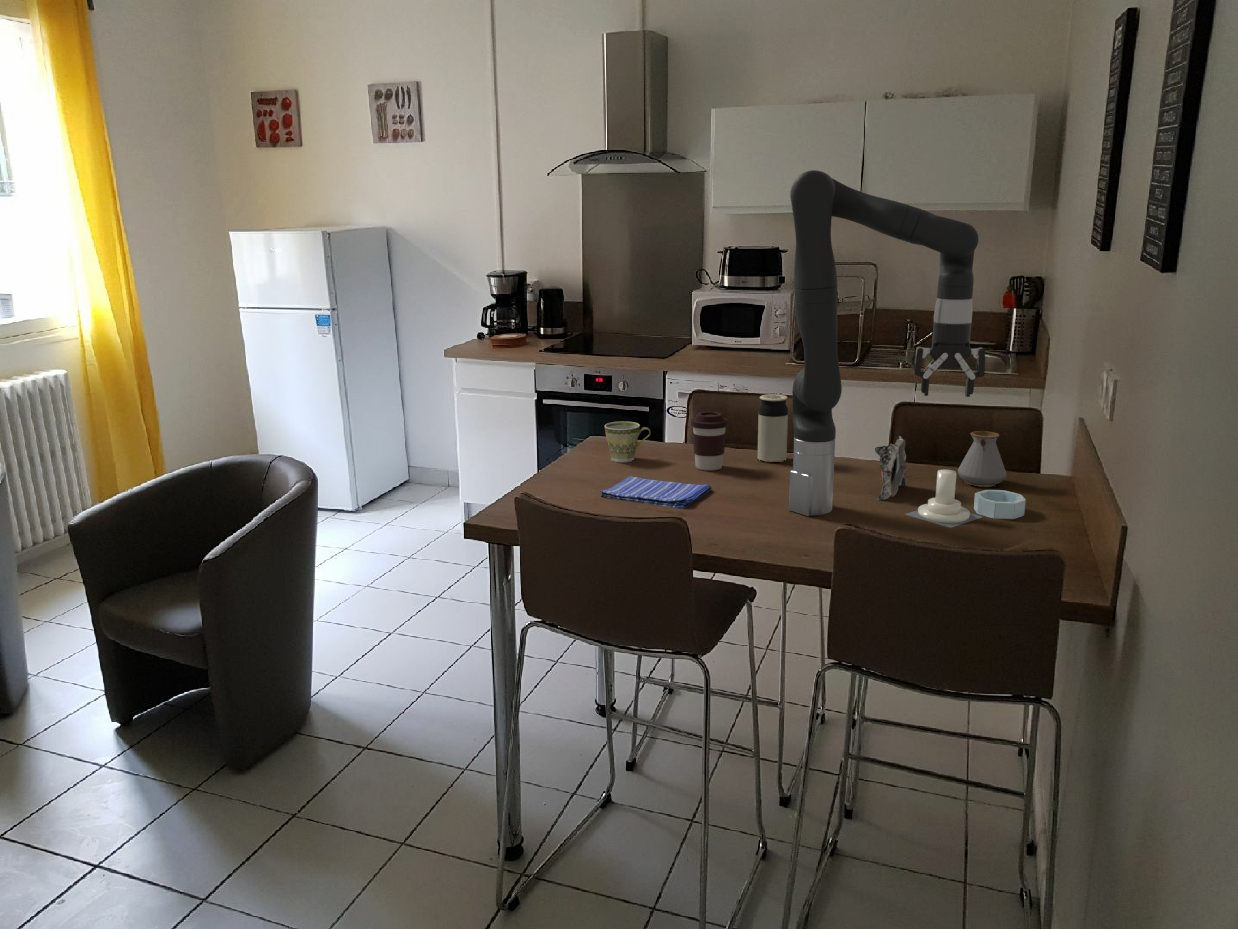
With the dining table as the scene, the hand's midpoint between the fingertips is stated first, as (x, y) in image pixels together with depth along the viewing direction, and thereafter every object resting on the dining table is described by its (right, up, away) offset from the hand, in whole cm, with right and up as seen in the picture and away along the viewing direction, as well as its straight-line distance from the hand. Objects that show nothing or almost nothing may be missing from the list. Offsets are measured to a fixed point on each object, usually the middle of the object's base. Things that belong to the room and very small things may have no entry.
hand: (946, 395), depth 197 cm
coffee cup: (-46, -16, +53) cm, 72 cm away
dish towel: (-61, -23, +30) cm, 72 cm away
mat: (+2, -27, +9) cm, 28 cm away
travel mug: (-28, -14, +59) cm, 67 cm away
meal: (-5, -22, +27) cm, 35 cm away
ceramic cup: (-68, -14, +63) cm, 93 cm away
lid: (+2, -26, +9) cm, 28 cm away
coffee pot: (+19, -21, +30) cm, 41 cm away
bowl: (+16, -26, +11) cm, 32 cm away
